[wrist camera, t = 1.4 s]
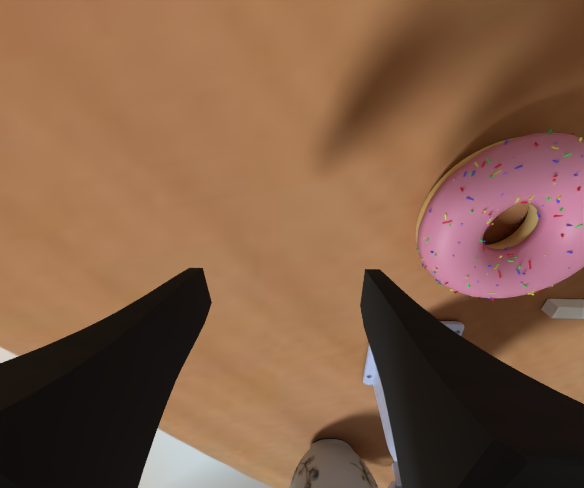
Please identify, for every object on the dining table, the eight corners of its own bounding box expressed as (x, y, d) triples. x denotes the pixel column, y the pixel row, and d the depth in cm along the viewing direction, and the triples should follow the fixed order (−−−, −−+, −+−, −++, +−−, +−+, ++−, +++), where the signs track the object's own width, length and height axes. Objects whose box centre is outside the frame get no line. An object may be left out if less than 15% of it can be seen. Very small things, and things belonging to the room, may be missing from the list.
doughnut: (622, 166, 15) (724, 182, 11) (496, 292, 20) (537, 331, 16) (471, 102, 14) (529, 96, 10) (379, 252, 19) (395, 284, 15)
